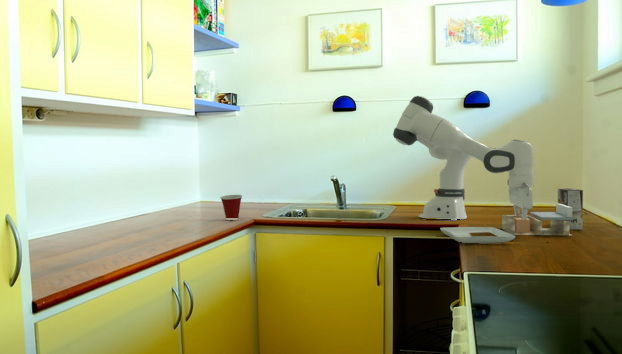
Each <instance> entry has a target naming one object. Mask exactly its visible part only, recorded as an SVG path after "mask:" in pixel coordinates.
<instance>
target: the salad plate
mask: <svg viewBox="0 0 622 354" xmlns="http://www.w3.org/2000/svg"><path fill="white" fill-rule="evenodd" d="M439 229H440V231H441V232H442V233H443V234H444V235H446V236H448V237H450V238H451V239H453V240H454V241H456V242H458V243H460V242H462V243H461V244H465V243H479V244H503V243H508V242H511V241H512V240H513V241H514V239H516V235H511V234H509V233H508V232H506V231H505V230H503V229H502V230H501V229H499V228H496V227H493V226H460V227H459V226H456V227H454V226H453V227H440V228H439ZM471 233H491V234H492V235H491V236H487V235H482V236H481V235H480V236H478V235H477V236H473V235H472V234H471ZM493 235H495V236H493Z"/></svg>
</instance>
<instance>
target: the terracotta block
mask: <svg viewBox="0 0 622 354" xmlns="http://www.w3.org/2000/svg"><path fill="white" fill-rule="evenodd" d="M513 220H515V232H520V233H530V219H528V218H527V219H526V220H523V219H521V218H513Z"/></svg>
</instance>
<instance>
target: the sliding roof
mask: <svg viewBox="0 0 622 354" xmlns="http://www.w3.org/2000/svg"><path fill="white" fill-rule="evenodd" d="M555 209H556V210H555V211H542V212H541V211H530V212H529V213H530V214H529V215H531V216H533V217H535V218H538V219H540V220H542V221H551V220H573V217H572V207H569V206H566V205H563V204H558V203H556V207H555Z"/></svg>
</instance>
